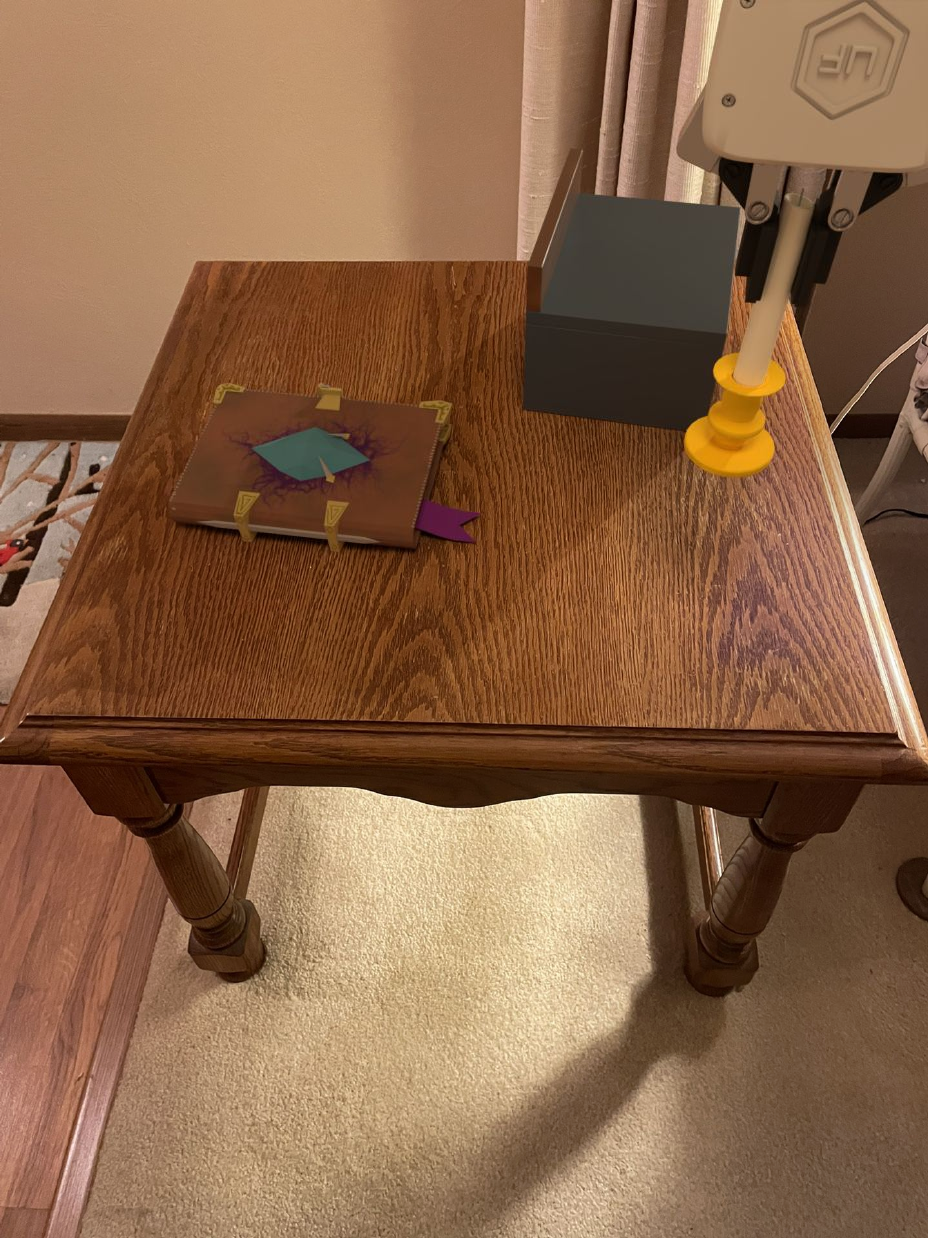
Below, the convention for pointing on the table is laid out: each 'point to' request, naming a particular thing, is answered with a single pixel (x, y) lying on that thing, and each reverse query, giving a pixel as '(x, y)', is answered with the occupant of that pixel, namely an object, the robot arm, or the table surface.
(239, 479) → the book
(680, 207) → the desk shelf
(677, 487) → the table surface
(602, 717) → the table surface
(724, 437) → the candle
